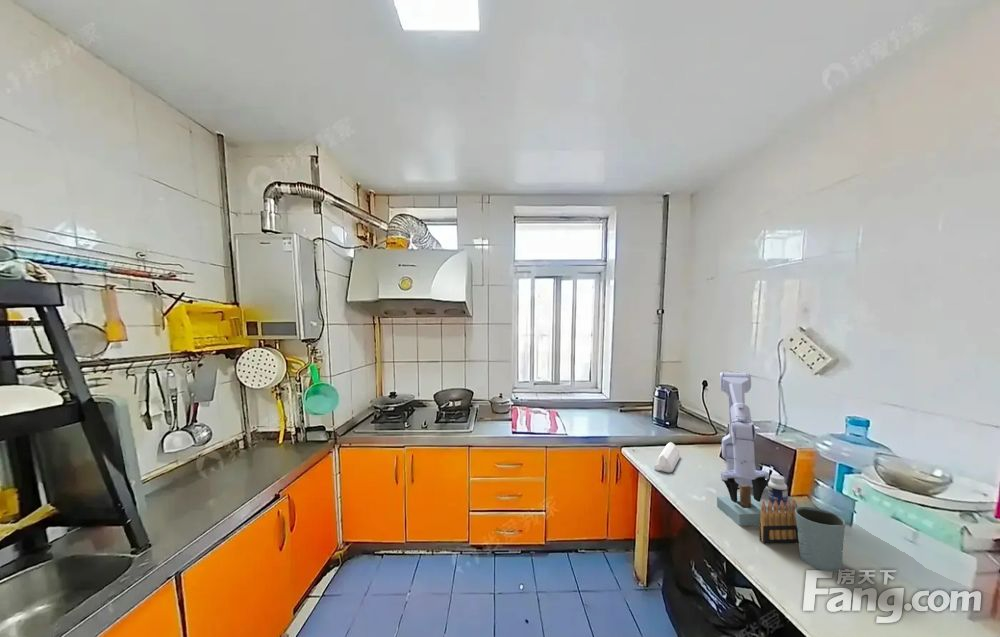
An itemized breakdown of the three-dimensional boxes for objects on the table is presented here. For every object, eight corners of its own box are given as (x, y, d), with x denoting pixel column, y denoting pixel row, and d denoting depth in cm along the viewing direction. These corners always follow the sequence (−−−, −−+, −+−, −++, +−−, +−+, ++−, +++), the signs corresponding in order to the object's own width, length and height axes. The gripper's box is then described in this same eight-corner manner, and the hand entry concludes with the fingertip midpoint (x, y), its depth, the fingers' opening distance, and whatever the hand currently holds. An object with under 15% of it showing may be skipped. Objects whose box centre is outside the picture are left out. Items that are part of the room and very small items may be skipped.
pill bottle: (764, 503, 132) (763, 475, 132) (774, 500, 134) (773, 472, 134) (781, 510, 127) (780, 481, 127) (791, 506, 129) (790, 477, 129)
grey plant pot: (788, 556, 103) (786, 511, 103) (809, 545, 107) (807, 502, 107) (834, 578, 94) (832, 529, 94) (855, 566, 98) (853, 519, 98)
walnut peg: (747, 512, 126) (746, 483, 126) (753, 517, 123) (752, 487, 123) (738, 513, 126) (737, 484, 126) (744, 517, 123) (743, 488, 123)
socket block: (751, 505, 130) (751, 495, 130) (777, 524, 118) (777, 513, 118) (717, 506, 130) (716, 496, 130) (739, 525, 118) (739, 514, 118)
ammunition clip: (763, 544, 108) (762, 502, 109) (759, 540, 110) (757, 499, 110) (801, 543, 108) (800, 501, 108) (796, 539, 110) (795, 498, 110)
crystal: (676, 466, 157) (684, 449, 177) (659, 455, 161) (670, 439, 180) (667, 480, 159) (676, 461, 179) (651, 468, 163) (662, 451, 182)
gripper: (729, 464, 120) (731, 507, 120) (774, 462, 120) (776, 505, 120) (716, 456, 127) (718, 497, 127) (759, 454, 128) (761, 495, 127)
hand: (745, 500), depth 124 cm, fingers open, 7 cm apart
